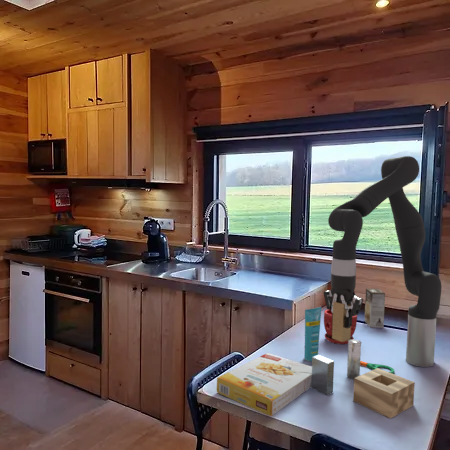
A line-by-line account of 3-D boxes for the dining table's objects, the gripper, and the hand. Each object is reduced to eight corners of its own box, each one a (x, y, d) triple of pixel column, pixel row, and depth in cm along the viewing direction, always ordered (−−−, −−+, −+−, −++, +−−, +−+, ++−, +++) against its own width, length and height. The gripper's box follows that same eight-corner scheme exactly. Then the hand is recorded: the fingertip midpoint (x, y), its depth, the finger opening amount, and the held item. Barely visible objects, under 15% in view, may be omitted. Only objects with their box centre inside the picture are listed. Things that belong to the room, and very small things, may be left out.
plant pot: (355, 348, 168) (356, 318, 167) (321, 344, 172) (322, 314, 171) (356, 337, 180) (357, 309, 179) (324, 333, 184) (325, 306, 183)
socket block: (376, 389, 133) (377, 368, 133) (413, 405, 124) (414, 382, 123) (353, 401, 126) (354, 378, 125) (390, 418, 116) (391, 394, 116)
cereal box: (215, 377, 129) (266, 350, 151) (215, 394, 129) (266, 365, 151) (272, 399, 116) (319, 366, 138) (272, 419, 117) (318, 383, 139)
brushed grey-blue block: (317, 385, 136) (318, 354, 135) (332, 392, 131) (334, 360, 130) (311, 387, 134) (312, 357, 133) (326, 395, 129) (327, 363, 128)
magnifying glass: (396, 371, 148) (396, 367, 148) (391, 377, 143) (391, 372, 143) (354, 360, 157) (354, 356, 157) (347, 365, 152) (347, 360, 152)
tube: (308, 363, 153) (310, 311, 151) (299, 358, 157) (300, 307, 155) (323, 359, 157) (325, 308, 155) (313, 354, 161) (315, 304, 159)
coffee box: (363, 321, 203) (365, 288, 201) (377, 321, 203) (378, 288, 201) (370, 327, 193) (371, 292, 192) (384, 327, 193) (385, 293, 192)
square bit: (339, 335, 139) (341, 299, 138) (350, 339, 136) (351, 302, 134) (332, 338, 136) (333, 301, 135) (342, 341, 133) (343, 304, 132)
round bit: (351, 373, 145) (353, 338, 144) (362, 377, 142) (363, 342, 141) (344, 376, 143) (345, 341, 142) (354, 380, 140) (356, 344, 139)
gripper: (370, 275, 131) (368, 329, 132) (332, 267, 142) (331, 318, 143) (355, 278, 126) (353, 334, 128) (317, 270, 137) (316, 322, 139)
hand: (341, 325), depth 136 cm, fingers closed on square bit, 4 cm apart
